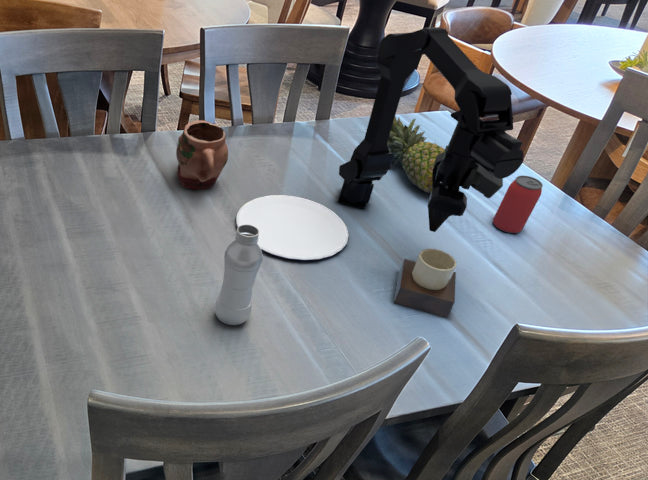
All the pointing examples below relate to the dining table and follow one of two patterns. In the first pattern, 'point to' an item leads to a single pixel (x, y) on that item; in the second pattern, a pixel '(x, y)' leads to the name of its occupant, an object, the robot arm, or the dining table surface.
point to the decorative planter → (201, 154)
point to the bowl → (433, 269)
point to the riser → (423, 293)
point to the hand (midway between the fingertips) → (433, 218)
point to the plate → (294, 227)
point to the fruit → (413, 153)
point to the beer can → (518, 204)
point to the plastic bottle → (239, 276)
